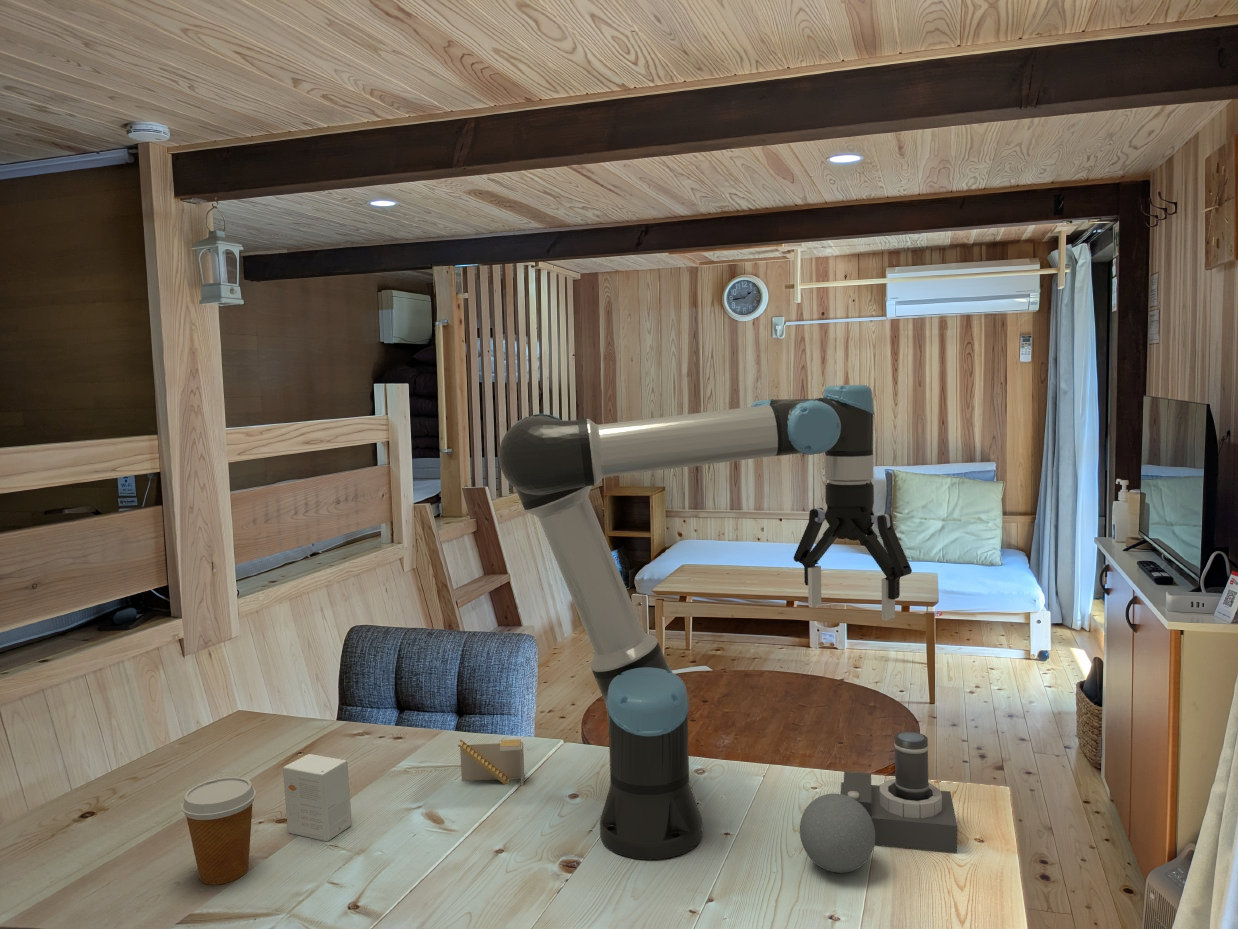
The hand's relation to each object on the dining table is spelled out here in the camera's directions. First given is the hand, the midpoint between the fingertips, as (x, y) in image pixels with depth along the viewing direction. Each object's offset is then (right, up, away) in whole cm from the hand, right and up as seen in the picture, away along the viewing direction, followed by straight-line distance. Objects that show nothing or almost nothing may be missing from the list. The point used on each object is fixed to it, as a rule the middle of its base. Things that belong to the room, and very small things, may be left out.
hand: (850, 612), depth 147 cm
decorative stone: (-8, -31, -23) cm, 40 cm away
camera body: (+3, -30, -13) cm, 33 cm away
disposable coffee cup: (-93, -34, -20) cm, 101 cm away
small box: (-83, -32, -8) cm, 90 cm away
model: (-59, -31, +7) cm, 67 cm away
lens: (+5, -26, -14) cm, 30 cm away
